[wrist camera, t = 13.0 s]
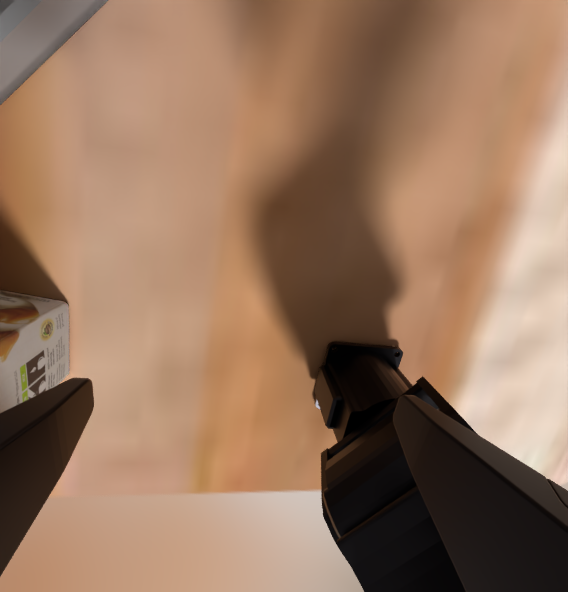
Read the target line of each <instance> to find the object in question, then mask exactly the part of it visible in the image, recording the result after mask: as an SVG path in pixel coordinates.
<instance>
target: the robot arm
mask: <svg viewBox="0 0 568 592" xmlns="http://www.w3.org/2000/svg"><path fill="white" fill-rule="evenodd" d="M333 347H336V349H334V350H332V348H333ZM396 352H398V353H397V354H395V353H396ZM394 354H395V355H394ZM402 355H403V352H402V350H401V349H400V348H399V347H392V346H380V345H368V344H356V343H344V342H331V343H330V344H329V345H328V347H327V351H326V355H325V359H324V364H323V365H322V366H321V367H320V369H319V373H318V377H317V381H316V386H315V390H314V391H315V394H316V397H315V406H316V407H317V408H318V409H320V410H321V413H322V416H323V419H324V422H325V425H326V426H327V428H328V429H333V431H334V434H335V436H336V439H337V442H338V443H336V444H335V445H334V446H332V447H331V448H330V449H328V448H327V449H326V450H325V451H323V452H322V453H321V486H322V508H323V517H324V519H325V521H326V523H327V525H328V528H329V530H330V532H331V535H332V537H333V539H334V541H335V542H336V544H337V546H338V548H339V549H340V551H341V552H342V554H343V555H344V557H345V558H346V560H347V561H348V563H349V564H350V566H351V567H352V569H353V571H354V573H355V575H356V577H357V578H358V580H359V582H360V584H361V586H362V588H363V590H364V592H568V491H567V490H566V489H564V488H562V487H561V486H559V485H558V484H556V483H555V482H553V481H551V480H550V479H546V477H545V476H543V475H542V474H540V473H538V472H537V471H535V470H534V469H532V468H530V467H529V466H527V465H525V464H524V463H522V462H521V461H519V460H517V459H516V458H514V457H513V456H511V455H509V454H508V453H506V452H505V451H503V450H501V449H500V448H498V447H497V446H495V445H493V444H492V443H490V442H489V441H487V440H485V439H484V438H482V437H480V436H479V435H478V434H477V433H476V432H475V431H474V430H473V429H472V428H471V427H470V426H469V425H468V423H467V422H466V421H465V420H464V419H463V418H462V417H461V416H460V415H459V414H458V413H457V412H456V411H455V410H454V408H453V407H452V406H451V405H450V404H449V403H448V402H447V401H446V400H445V399H444V398H443V397H442V396H441V395H440V394H439V393H438V392H437V391H436V390H435V389H434V388H433V386H432V385H431V384H430V383H429V382H428V381H427V380H426V379H425V378H424V377H421V378H420V379H419V380H417V381H416V382H417V383H416V384H415V385H413V386H412V384H411V383H410V382H409V381H408V380H407V378H406V377H405V376H404V375H403V374H402V372H401V371H400V370H399V369H398V367H399V364H400V361H401V358H402ZM93 407H94V397H93V386H92V381H91V380H90V379H88V378H71V379H69V380H67V381H65V382H63V383H61V384H59V385H57V386H55V387H53V388H51V389H49V390H47V391H45V392H43V393H41V394H38V395H36V396H34V397H32V398H30V399H28V400H26V401H24V402H22V403H20V404H18V405H16V406H14V407H12V408H10V409H8V410H6V411H4V412H2V413H0V576H1V575H2V573H3V571H4V570H5V568H6V566H7V565H8V563H9V561H10V560H11V558H12V556H13V555H14V553H15V551H16V550H17V548H18V546H19V545H20V543H21V541H22V540H23V538H24V537H25V535H26V533H27V532H28V530H29V528H30V527H31V525H32V523H33V522H34V520H35V518H36V517H37V515H38V513H39V512H40V510H41V508H42V507H43V505H44V503H45V502H46V500H47V499H48V497H49V495H50V494H51V492H52V490H53V489H54V487H55V485H56V484H57V482H58V480H59V479H60V477H61V475H62V473H63V472H64V470H65V468H66V466H67V464H68V462H69V460H70V458H71V456H72V453H73V451H74V449H75V447H76V445H77V443H78V441H79V439H80V437H81V435H82V433H83V430H84V428H85V426H86V424H87V422H88V420H89V418H90V416H91V414H92V411H93Z"/></svg>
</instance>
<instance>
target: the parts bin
mask: <svg viewBox="0 0 568 592" xmlns="http://www.w3.org/2000/svg"><path fill="white" fill-rule="evenodd" d="M107 1H108V0H0V105H1V104H2V103H3V102H4V101H5V100H6V99H7V98H8V97H9V96H10V95H11V94H12V93H13V92H14V91H15V90H16V89H17V88H18V87H20V86H21V85H22V84H23V83H24V82H25V81H26V80H27V79H28V78H29V77H30V76H31V75H32V74H33V73H34V72H35V71H36V70H37V69H38V68H39V67H40V66H41V65H42V64H43V63H44V62H45V61H46V60H47V59H48V58H49V57H50V56H51V55H52V54H54V53H55V52H56V51H57V50H58V49H59V48H60V47H61V46H62V45H63V44H64V43H65V42H66V41H67V40H68V39H69V38H70V37H71V36H72V35H73V34H74V33H75V32H76V31H77V30H78V29H79V28H80V27H81V26H82V25H83V24H84V23H85V22H86V21H88V20H89V19H90V18H91V17H92V16H93V15H94V14H95V13H96V12H97V11H98V10H99V9H100V8H101V7H102V6H103V5H104V4H105V3H106V2H107Z"/></svg>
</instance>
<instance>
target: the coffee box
mask: <svg viewBox="0 0 568 592" xmlns="http://www.w3.org/2000/svg"><path fill="white" fill-rule="evenodd" d="M68 374H69V306H68V304H67V303H66V302H64V301H59V300H53V299H48V298H42V297H36V296H31V295H25V294H19V293H14V292H8V291H3V290H0V413H2V412H4V411H6V410H8V409H10V408H12V407H14V406H16V405H18V404H20V403H22V402H24V401H26V400H28V399H30V398H32V397H34V396H36V395H38V394H41V393H43V392H45V391H47V390H49V389H51V388H53V387H55V386H57V385H58V384H59V383H60V382H61V381H62V380H63V379H64V378H65V377H66V376H67V375H68Z"/></svg>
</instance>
